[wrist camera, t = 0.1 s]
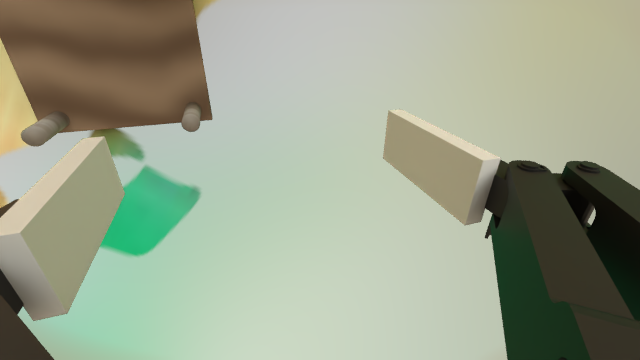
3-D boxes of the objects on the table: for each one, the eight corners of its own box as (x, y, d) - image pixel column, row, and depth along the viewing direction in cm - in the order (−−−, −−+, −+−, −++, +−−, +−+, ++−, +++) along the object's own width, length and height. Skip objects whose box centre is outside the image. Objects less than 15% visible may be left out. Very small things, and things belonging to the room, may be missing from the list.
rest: (-36, -67, 27) (-113, -92, 20) (183, -53, 32) (176, -71, 25) (49, 129, 35) (15, 154, 29) (212, 116, 40) (212, 135, 34)
